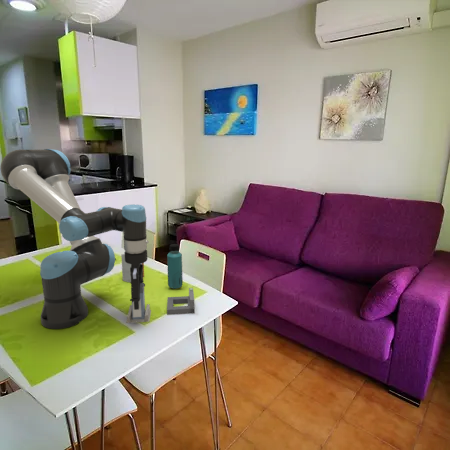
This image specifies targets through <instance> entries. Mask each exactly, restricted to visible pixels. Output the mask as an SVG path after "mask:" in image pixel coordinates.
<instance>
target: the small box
mask: <svg viewBox="0 0 450 450" xmlns="http://www.w3.org/2000/svg"><path fill="white" fill-rule="evenodd" d="M120 257H121V272H122V281H123V282H127V283H131V275H130V274H131V272H130V268H131V264H128V263H126V262H125V252H123V253H121V256H120ZM144 263H145V262H144ZM144 263H142V264H143V278H145V265H144Z"/></svg>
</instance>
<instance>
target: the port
mask: <svg viewBox="0 0 450 450" xmlns="http://www.w3.org/2000/svg"><path fill="white" fill-rule="evenodd" d="M166 299H167V305H166V315H168V316H169V315H185V314H187V315H188V314H189V315H190V314H195V292H194V288H193V287H188V296H187V295H185V296H167V298H166ZM181 304H183V305H182V306H181ZM184 304H187V305H184ZM174 305H180V306H174Z"/></svg>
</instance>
